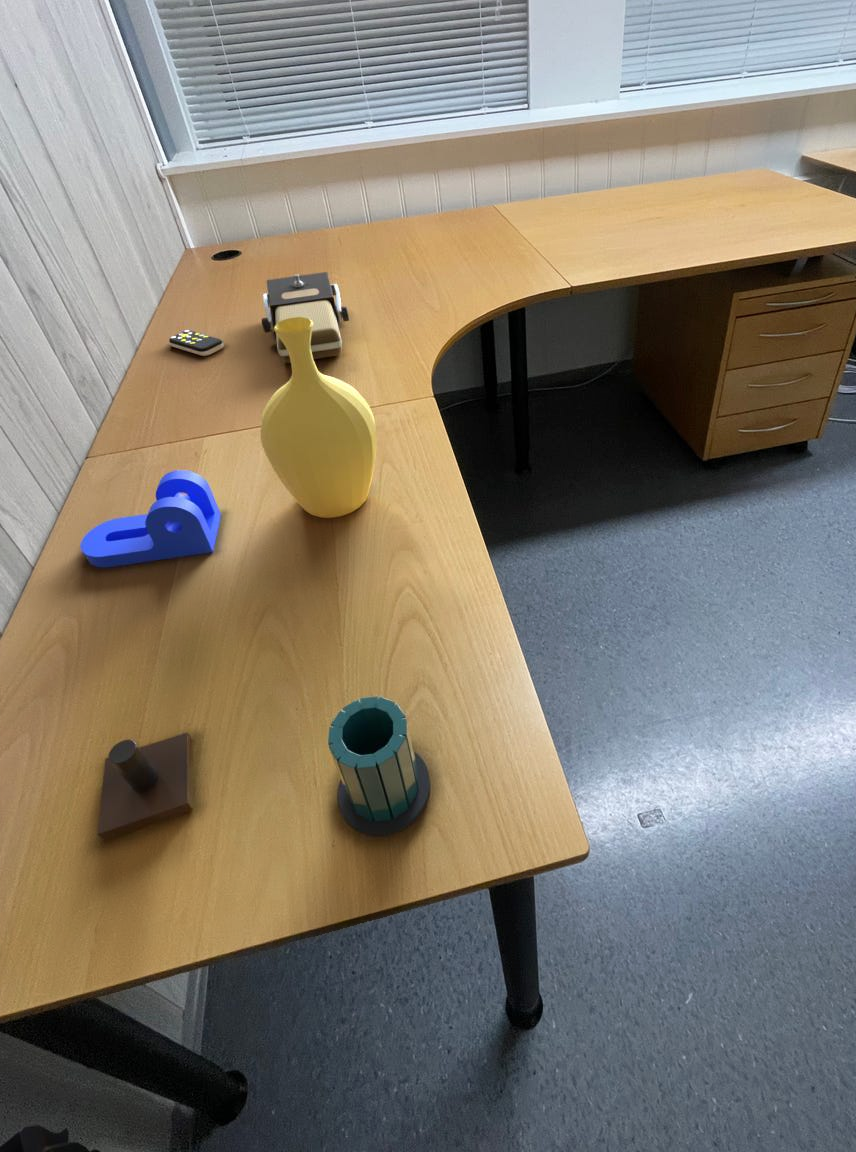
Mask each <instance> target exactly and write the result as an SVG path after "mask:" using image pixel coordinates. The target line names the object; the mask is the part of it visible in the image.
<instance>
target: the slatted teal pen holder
mask: <svg viewBox="0 0 856 1152" xmlns="http://www.w3.org/2000/svg"><path fill="white" fill-rule="evenodd" d="M410 732H411V731H410V728H409V724H408V719H407V715H406V714H405V712H403V710H402V709H401V707H400V705H399V704H398V703H396V702H395V701H393V700H390V699H388V698H386V697H383V696H377V695H375V696H367V697H360V698H359V699H358V698H357V699H355V700H354V701H352V702H350V703H349V704H347V705H345V706H343V707H342V710H341V709H340V710H339V711H338V712H337V714H336V716H335V717H334V719H333V720H332V721H331V723H330V726H329V728H328V737H327V745H328V749H329V752H330V755H331V757H332V760H333V762H334V765H335V768H336V770H337V772H338V775H339V778H340V779H341V781H342V783H343V786H344V788H345V791H346V794H347V796H348V799H349V801H350V803H351V805H352V806H353V808H354V810H355V812H356V813H358V815H360V816H362V817H364V818H366V819H368V820H370V821H373V819H374V821H375V822H376V821H385V820H391V819H392V816H393V818H394V819H395V818H396V817H397V816H399V815H400V814H402V813H403V812H404V811H406V810H407V809H408V806H411V804H412V802H413V800H414V798H415V796H416V795H417V793H418V790H417V789H419V777H418V770H417V765H416V760H415V756H414V751H415V750H414V746H413V741H412V738H411V733H410Z"/></svg>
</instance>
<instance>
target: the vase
mask: <svg viewBox="0 0 856 1152" xmlns="http://www.w3.org/2000/svg"><path fill="white" fill-rule="evenodd" d="M312 329H313V322H312V321H311V320H310V319H307V318H303V317H295V318H289V319H285V320H282V321H280V322H279V323H277V324H276V326H275V327H274V331H273V332H274V333H275V334H276V333H277V335H278V336H279V338H280V339H281V340H282V342H283V343H284V345H285V346H286V348H287V351H288V353H289V356H290V360H291V363H290V366H291V376H290V379H289V380H288V381H287V382H286V383H285V384H283V385H282V386H281V387H280V388H278V389H277V390H276V391H275V392H274V394H273V395H271V397H270V399H269V400H268V402H267V404H266V405H265V407H264V409H263V412H262V416H261V423H260V440H261V445H262V449H263V453H264V454H265V456H266V458H267V460H268V462H269V463H270V465H271V467H272V468H273V471H274V472H275V474H276V476H277V478H278V479H279V480H280V482H281V483H282V485H283V486H284V487H285V489H286V490H287V491H288V492H289V494H290V495H291V496H292V497H293V499H294V500H295V501H296V503H298V504H299V505H300V506H301V508H302V509H303V511H305V512H306V513H308V514H310V515H311V516H313V517H318V518H322V519H323V518H325V519H333V518H339V517H343V516H345V515H348V514H351V513H353V512H355V511H356V510H357V509H359V508H361V506H363V504H364V503H365V502H366V501H367V499H368V496H369V493H370V489H371V485H372V481H373V476H374V471H375V466H376V460H377V450H378V447H377V446H378V437H377V428H376V422H375V418H374V414H373V412H372V411H373V410H372V409H371V406H370V405H369V404H368V402H367V401H366V399H365V398H364V397H363V396H362V395H361V394H360V393H359V392H358V391H357V389H356V388H354V387H353V386H351V384H348V383H346V382H344V381H343V380H341V379H338V378H336V377H333V376H330V375H325V374H324V373H321V372H320V371H319V370H318V368H317V365H316V362H315V359H313V356H312V352H311V344H310V343H311V336H312Z"/></svg>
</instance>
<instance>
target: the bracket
mask: <svg viewBox="0 0 856 1152" xmlns="http://www.w3.org/2000/svg"><path fill="white" fill-rule="evenodd" d="M158 482H159V483H158V485H157V488H156V490H155V502H153V503H152V504H151V505H150V507H149V510H148V512H147V513H146V514H145V513H144V514H138V515H131V516H123V517H117V518H114V519H110V520H107V521H104V522H101V523H100V524H97V526H94V527H93V528H92V529H90V530H89V531H87V533H86V534H85V535H84V536H83V538H82V540H81V542H80V550H81V552H82V553H83V555H84V557H85V558H86V559H87V561H88V563H89V564H90V565H91V566H94V567H97V568H113V567H114V568H115V567H119V566H121V567H122V566H127V565H133V564H141V563H146V562H154V561H155V562H156V561H163V560H167V559H175V558H181V557H189V556H196V555H203V554H210V553H213V552H214V549H215V544H216V541H217V536H218V531H219V527H220V522H221V518H222V514H221V511H220V509H219V506H218V503H217V500H216V499H215V496H214V494H213V491H212V489H211V486H210V484H209V483H208V481H207V480H206V479H205V477H202V476H201V475H200V474H199V473H196V472H193V471H191V470H184V469H177V470H172V471H169V472H167V473H165V474H164V475H163V476H162V477H161V478H160V480H159V481H158ZM183 493H184V494H183Z"/></svg>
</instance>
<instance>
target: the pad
mask: <svg viewBox="0 0 856 1152" xmlns="http://www.w3.org/2000/svg"><path fill="white" fill-rule="evenodd" d="M413 751H414V756H415V760H416V765H417V770H418V777H419V789H417V790H418V793H417V795H416V796H415V798H414V800H413V802H412V804H411V806H408V809H407V810H406V811H404V812H403V813H402V814H400V815H399V816H397V817H396V818H395V819H394V818H393V816H392V819H391V820H385V821H376V822H375V821H374V819H373V821H370V820H368V819H366V818H364V817H362V816H360V815H358V813H356V812H355V810H354V808H353V806H352V805H351V803H350V801H349V799H348V796H347V794H346V791H345V788H344V786H343V783H342V781H341V778H340V780H339V783H338V787H337V804H338V808H339V811H340V814H341V815H342V817H343V819H344V821H345V822H346V823H347V824H348V826H349V827H351V828H352V829H353V830H354V831H356V832H358V833H359V834H362V835H365V836H367V837H373V838H375V837H377V838H380V837H382V838H383V837H389V836H392V835H395V834H398V833H401V832H403V831H404V830H405V829H407V828H408V827H410V826H412V825H413V823H414V822H416V820H418V818H419V817H420V816H421V814H422V813H423V811H424V810H425V808H426V806H427V804H428V802H429V799H430V794H431V777H430V772H429V769H428V767H427V764H426V762H425V761H424V759H423V758H422V757H421V755H419V753H417V752H416V751H415V750H413Z"/></svg>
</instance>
